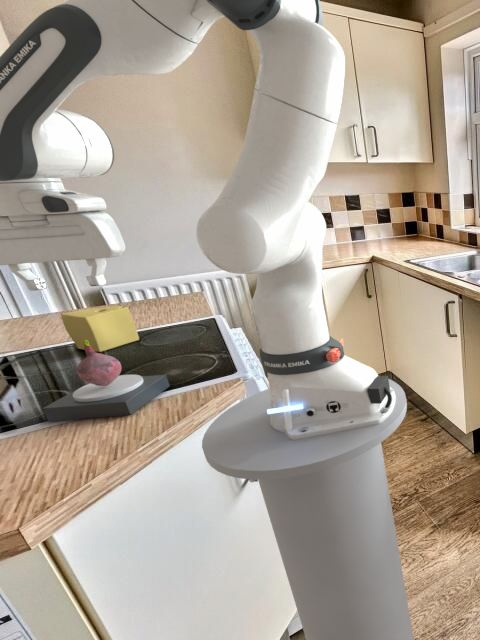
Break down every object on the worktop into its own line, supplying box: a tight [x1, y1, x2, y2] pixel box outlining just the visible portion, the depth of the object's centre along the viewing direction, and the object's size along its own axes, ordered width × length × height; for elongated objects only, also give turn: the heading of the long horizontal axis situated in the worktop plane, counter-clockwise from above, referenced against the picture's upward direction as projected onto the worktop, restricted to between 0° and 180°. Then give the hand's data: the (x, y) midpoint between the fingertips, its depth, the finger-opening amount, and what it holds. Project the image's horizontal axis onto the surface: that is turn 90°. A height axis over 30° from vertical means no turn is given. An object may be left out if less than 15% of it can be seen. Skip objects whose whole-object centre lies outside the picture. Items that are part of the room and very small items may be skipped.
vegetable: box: [76, 340, 122, 386], centre depth 81 cm, size 6×6×10 cm
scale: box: [42, 374, 171, 423], centre depth 84 cm, size 14×12×4 cm
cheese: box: [61, 305, 140, 353], centre depth 115 cm, size 10×11×10 cm
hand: (69, 287), depth 72 cm, fingers open, 8 cm apart
